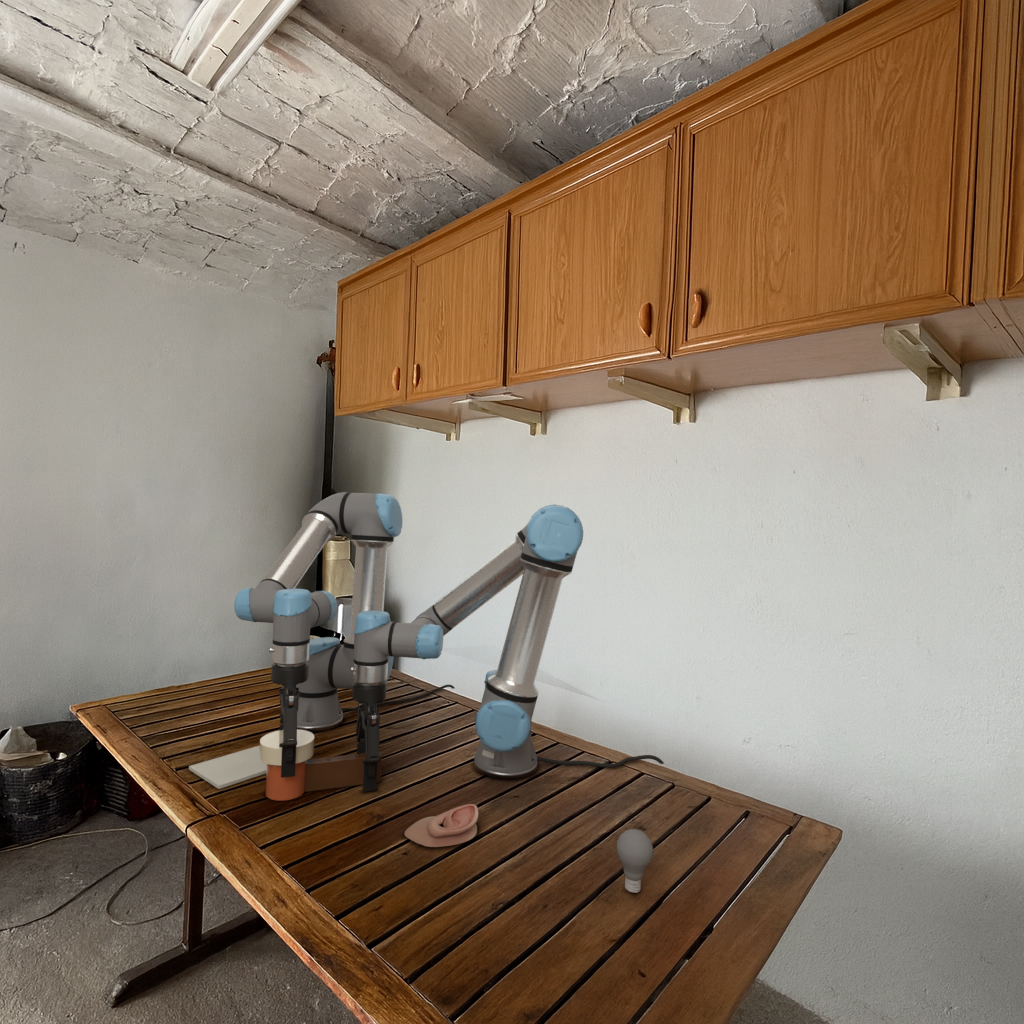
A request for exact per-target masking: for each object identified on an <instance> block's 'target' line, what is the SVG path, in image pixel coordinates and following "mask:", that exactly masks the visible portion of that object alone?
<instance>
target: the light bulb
mask: <svg viewBox="0 0 1024 1024" xmlns="http://www.w3.org/2000/svg"><path fill="white" fill-rule="evenodd" d="M615 849H616V854H617V857H618V859H619V861H620V863H621V865H622V867H623V873H624V874H623V875H624V876H625V878H624V888H625V890H627V891H628V892H630V893H634V894H635V893H639V892H640V891H641V889H642V887H641V886H642V879H643V877H644V875H645V871H646V868H647V867H648V866H649V864H650V863H651V861H652V859H653V855H654V847H653V843H652V841H651V838H649V836H648V835H647V834H646V833H645V832H643V831H642V830H641V829H636V828H629V829H627V830H625V831H623V832H622V833H621V834H620V835H619V837H618V839H617V841H616V847H615Z"/></svg>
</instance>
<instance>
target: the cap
mask: <svg viewBox="0 0 1024 1024" xmlns="http://www.w3.org/2000/svg"><path fill="white" fill-rule="evenodd" d="M289 740H293V739H289ZM280 743H283V730H280V729H279V730H275V731H272V732H269V733H267V734H265V735H263V736H262V737H260V739H259V745H260V751H259V759H260V760H261V761H262V762H263V763H266V764H270V765H280V766H281V761H282V747H279V744H280ZM314 754H315V734H314V732H309V731H306V730H299V729H297V746H296V764H297V763H301V762H304V761H306V760H308V759H312V757H313V756H314Z"/></svg>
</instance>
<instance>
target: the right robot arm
mask: <svg viewBox="0 0 1024 1024" xmlns="http://www.w3.org/2000/svg"><path fill="white" fill-rule="evenodd" d="M583 528H584V527H583V523H582V521H581V519H580V517H579V516H578V515H577V514H576V512H575V511H573V510H572V509H571V508H570V507H568V506H564V505H560V504H549V505H545V506H542V507H540V508H539V509H538V510H536V511H535V512H534V513H533V514H532V516H531V518H530V519H529V521H528V523H526V525H525V526H524V527H522V529H520V530H519V531H518V532H517V533H515V538H514V541H512V542H510V543H509V544H508V545H507V546H505V548H503V549H502V550H500V551H499V552H498V553H497V554H495V555H494V556H493V557H492V558H490V559H489V560H488V561H486V563H484V564H483V565H482V566H480V567H479V568H478V569H476V570H475V571H473V572H472V574H470V575H469V576H468V577H466V578H465V579H464V580H462V581H461V582H460V583H459V584H457V585H456V586H454V587H453V588H452V589H451V590H450V591H448V592H447V593H446V594H445V595H443V596H442V597H441V598H440V599H438V600H437V601H436V602H435V603H433V604H432V605H431V606H430V607H428V608H427V609H425V610H424V611H423V612H421V613H419V614H418V616H416V617H415V619H413V620H412V621H411V622H397V621H391V615H390V613H389V612H388V611H384V610H383V612H382V611H364V612H361V613H359V614H358V615H357V617H356V624H355V632H354V667H351V671H352V672H353V680H354V682H353V684H352V689H351V698H352V700H353V701H354V702H357V708H358V711H357V715H356V716H357V718H356V730H355V736H356V742H357V743H356V754H362V753H365V760H362V763H364V777H363V784H362V792H363V793H367V792H368V793H369V792H375V791H377V783H376V781H377V762H379V761H380V754H381V752H380V751H381V750H380V749H381V748H380V747H381V746H380V722H381V715H380V708H379V707H378V706H377V705H376V704H377V703H380V702H383V701H384V700H385V699H386V698H387V691H388V682H387V683H386V681H385V680H387V674H388V656H393V657H397V658H409V659H421V660H427V659H428V660H435V659H438V658H440V657H441V655H442V652H443V646H444V637H445V636H446V635H447V634H448V633H449V632H451V631H452V630H453V629H454V628H456V627H457V626H458V625H459V624H461V623H462V622H463V621H465V620H466V619H468V617H470V616H471V615H472V614H474V613H475V612H476V611H477V610H479V609H480V608H481V607H483V606H484V605H485V604H486V603H488V602H489V601H491V600H492V599H493V598H494V597H496V596H497V595H498V594H499V593H501V592H502V591H504V590H505V589H506V588H507V587H508V586H510V585H511V584H513V582H515V581H516V580H517V579H519V578H520V577H521V576H522V577H521V581H520V584H519V588H518V591H517V595H516V598H515V602H514V607H513V611H512V612H511V613H512V614H511V617H510V621H509V625H508V629H507V633H506V636H505V639H504V643H503V647H502V651H501V653H500V654H501V655H500V658H499V661H498V665H497V669H493V670H489V671H487V672H486V674H485V680H484V682H483V683H484V691H483V695H482V698H481V702H480V706H479V709H478V711H477V713H476V716H475V721H474V723H475V731H476V734H477V736H478V739H479V743H478V745H477V749H476V751H475V753H474V759H473V762H474V763H473V766H474V767H473V768H475V770H476V771H477V772H479V773H480V774H481V775H484V776H486V777H490V778H493V779H498V780H499V779H500V780H515V779H516V780H518V779H523V778H526V777H529V776H531V775H533V774H535V773H536V771H537V769H538V762H540V763H547V764H553V765H560V766H574V765H575V766H590V767H597V768H604V769H611V768H612V769H613V768H618V767H621V766H623V765H624V764H626V763H628V762H634V761H640V760H654V761H656V762H657V763H659V764H660V765H664V764H665V763H664V760H662V759H661V758H660V757H658V756H656V755H653V754H642V755H636V756H629V757H626V758H623V759H620V761H618V762H614V763H604V762H603V763H602V762H596V761H588V760H559V759H558V760H557V759H552V758H546V757H539V756H537V753H536V749H535V745H534V741H533V737H532V723H533V722H532V719H533V715H534V711H535V708H536V704H537V701H538V696H539V689H538V688H537V686H536V684H535V681H536V678H537V674H538V670H539V667H540V663H541V659H542V657H543V652H544V648H545V645H546V641H547V637H548V635H549V634H548V633H549V630H550V626H551V623H552V619H553V615H554V611H555V608H556V605H557V601H558V597H559V594H560V590H561V586H562V582H563V580H564V578H566V577H568V576H569V575H571V574H572V572H573V568H574V565H575V561H576V558H577V554H578V551H579V549H580V547H581V546H582V543H583V540H584V529H583Z"/></svg>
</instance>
